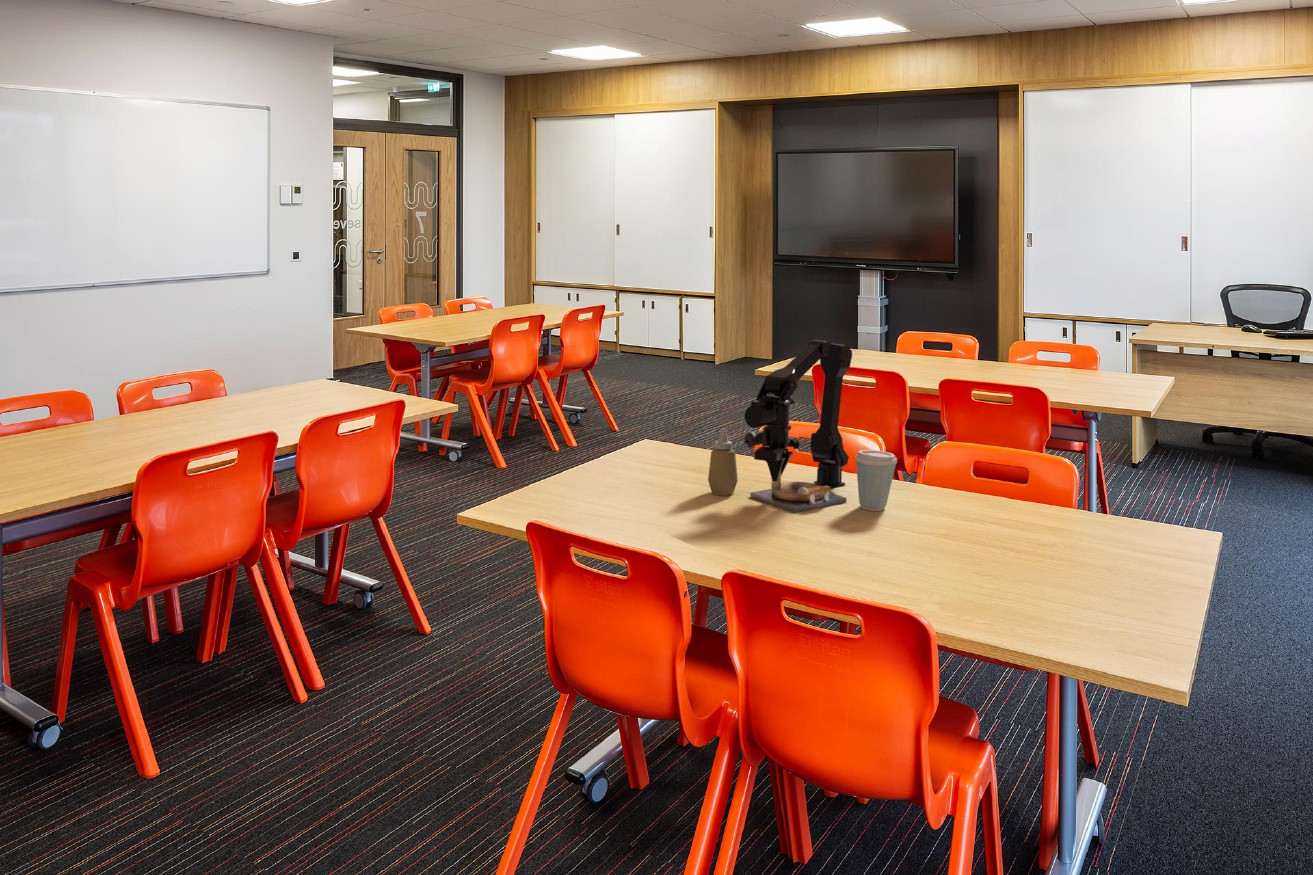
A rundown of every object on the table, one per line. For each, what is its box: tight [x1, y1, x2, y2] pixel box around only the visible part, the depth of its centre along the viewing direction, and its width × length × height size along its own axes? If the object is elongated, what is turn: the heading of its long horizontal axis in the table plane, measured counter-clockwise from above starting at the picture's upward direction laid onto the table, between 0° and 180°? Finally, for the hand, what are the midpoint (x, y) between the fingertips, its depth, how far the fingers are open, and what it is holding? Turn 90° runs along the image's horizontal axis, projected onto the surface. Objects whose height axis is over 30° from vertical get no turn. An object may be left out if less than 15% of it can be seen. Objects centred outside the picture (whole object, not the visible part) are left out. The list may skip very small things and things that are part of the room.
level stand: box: [749, 486, 847, 513], centre depth 273 cm, size 18×18×5 cm
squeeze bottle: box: [707, 428, 739, 497], centre depth 277 cm, size 8×8×18 cm
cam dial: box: [770, 471, 824, 501], centre depth 272 cm, size 14×14×8 cm
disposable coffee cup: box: [854, 449, 898, 512], centre depth 264 cm, size 11×11×15 cm
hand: (776, 479), depth 271 cm, fingers closed on cam dial, 2 cm apart
